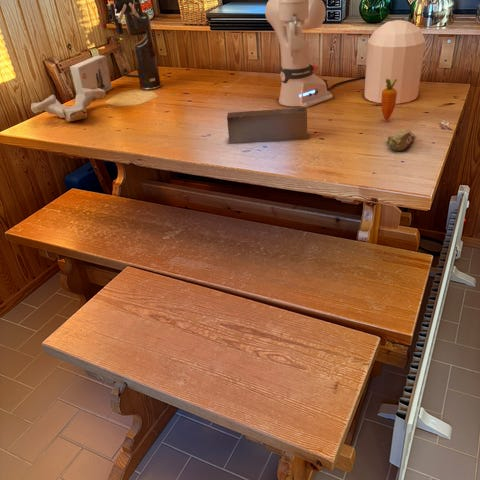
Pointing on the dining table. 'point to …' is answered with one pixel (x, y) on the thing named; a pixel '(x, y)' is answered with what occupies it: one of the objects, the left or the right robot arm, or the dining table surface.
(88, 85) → the skincare box
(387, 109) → the carrot
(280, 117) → the bar
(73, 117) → the animal horns
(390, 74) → the container
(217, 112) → the dining table surface
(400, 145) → the rock
